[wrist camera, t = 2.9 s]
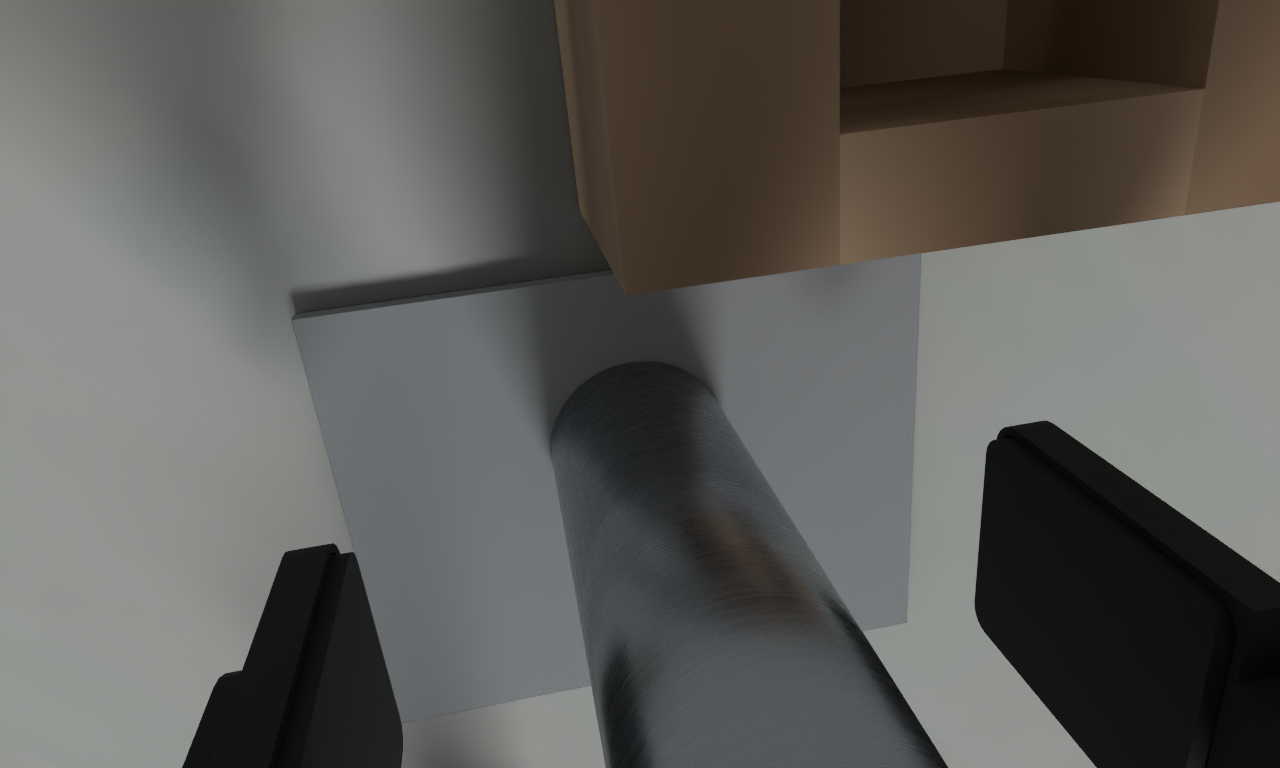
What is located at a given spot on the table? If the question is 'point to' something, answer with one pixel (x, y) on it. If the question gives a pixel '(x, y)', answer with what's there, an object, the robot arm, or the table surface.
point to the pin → (708, 595)
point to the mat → (522, 464)
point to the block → (904, 125)
